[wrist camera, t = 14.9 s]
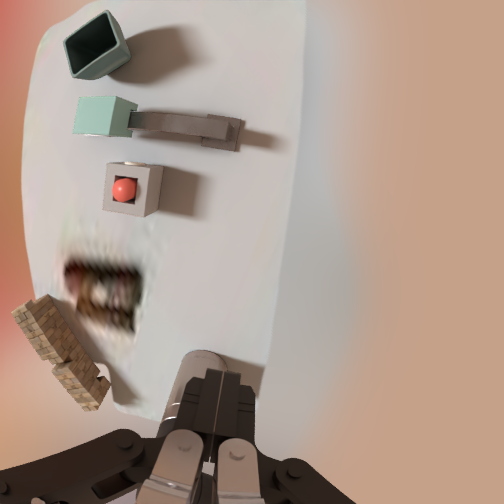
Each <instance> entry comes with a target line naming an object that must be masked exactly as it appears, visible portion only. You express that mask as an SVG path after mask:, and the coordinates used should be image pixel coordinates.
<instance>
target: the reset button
mask: <svg viewBox="0 0 504 504" xmlns="http://www.w3.org/2000/svg"><path fill="white" fill-rule="evenodd" d="M137 183H138V178H133V177H130V178H125V179H120V180H117V181H116V182H115V183H114V185H113V188H112V193H113V196H114V198H115V199H116V200H117V201H119V202H125V201H127V200H130V199H133V198H136V191H137Z"/></svg>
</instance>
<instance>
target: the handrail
mask: <svg viewBox="0 0 504 504" xmlns="http://www.w3.org/2000/svg"><path fill="white" fill-rule="evenodd" d="M240 123H241V119H237V118H230V117H224V116H217V115H210V114H208V116H207V118H201V117H192V116H183V115H173V114H162V113H148V112H130V117H129V122H128V127H127V129H138V130H150V131H160V132H170V133H179V134H187V135H195V136H202V137H203V140H202V145H201V146H204V147H210V148H217V149H223V150H229V151H234V152H235V147H236V142H237V137H238V132H239V128H240ZM86 135H87V134H86ZM89 136H100V135H89ZM109 137H111V136H109Z"/></svg>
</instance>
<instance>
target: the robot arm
mask: <svg viewBox="0 0 504 504" xmlns="http://www.w3.org/2000/svg"><path fill="white" fill-rule="evenodd" d="M240 377H241V373H235V372H229V371H227V367H226V364H225V362H224V361H223V360H222V359H221V358H220V357H219V356H218V355H216V354H214V353H212V352H208V351H203V350H197V351H192V352H190V353H188V354H187V355H185V357H184V358H183V360H182V363H181V365H180V368H179V371H178V374H177V376H176V379H175V382H174V385H173V388H172V391H171V394H170V397H169V400H168V402H167V405H166V408H165V412H164V415H163V418H162V421H161V424H160V427H159V430H158V433H157V436H156V438H141V437H140V436H139V435H138V434H137V433H136V432H134V431H132V430H129V429H118V430H115V431H113V432H110V433H108V434H106V435H103V436H101V437H98V438H96V439H94V440H91V441H89V442H87V443H84V444H81V445H79V446H76V447H73V448H71V449H68V450H66V451H63V452H60V453H57V454H54V455H51V456H48V457H45V458H43V459H39V460H36V461H33V462H30V463H26V464H23V465H20V466H16V467H12V468H9V469H5V470H1V471H0V504H106V503H108V502H110V501H112V500H114V499H116V498H119V497H121V496H123V495H125V494H126V493H129V492H131V491H133V490H135V489H137V493H136V503H135V504H356V503H355V502H353V501H352V500H351V499H349V498H348V497H347V496H346V495H344V494H343V493H342V492H340V491H339V490H338V489H337V488H336V487H335V486H333V485H332V484H331V483H330V482H328V481H327V480H326V479H325V478H324V477H323V476H322V475H320V474H319V473H318V472H317V471H316V470H315V469H313V468H312V467H311V466H310V465H309V464H308V463H307V462H305V461H303V460H301V459H297V458H288V459H285V460H283V461H279V460H275V459H273V458H270V457H267V456H265V455H263V454H262V453H261V452H260V451H259V450H258V449H257V447H256V445H255V441H254V435H255V434H254V433H255V393H254V392H253V390H252V388H251V386H245V385H240ZM210 456H211V459H210V462H211V463H215V467H214V474H213V476H211V475H209V474H205V473H203V472H202V468H203V462H204V461H205V462H208V461H209V457H210Z"/></svg>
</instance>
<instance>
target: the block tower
mask: <svg viewBox="0 0 504 504" xmlns="http://www.w3.org/2000/svg"><path fill="white" fill-rule="evenodd" d="M11 314H12V315H13V317H14V319H15V321H16V322H17V324H18V325H19V326H20V328H21V329H22V330H23V332H24V333H25V335H26V337H27V338H28V339H29V342H30V343H31V344H32V346H33V348H34V349H35V350H36V352H37V353H38V354H39V355H40V357H41V359H42V360H47V359H49V361H50V362H51V363H52V364H56V366H55V367H54V368H53V370H52V373H53V374H54V375H55V377H56V378H57V379H58V380H59V381H60V383H61V384H62V385H63V387H64V388H65V389H67V392H68V393H69V394H70V395H71V396H72V397H73V398H74V399H75V401H76V402H77V403H78V404H79V405H80V406H81V407H82V409H83V410H84V411H91V410H93V411H95V410H98V408H99V406H100V405H101V403H102V401H103V399H104V397H105V395H106V393H107V390H109V388H110V386H111V383H110V382H109V381H108V380H107V379H106V377H105V376H101V377H97V376H98V374H99V372H100V370H99V369H98V367H97V366H96V365H95V363H93V361H92V360H91V359H90V358H89V356H88V354H87V353H86V352H85V350H84V349H83V348H82V346H81V344H80V343H79V342H78V340H77V339H76V338H75V336H74V335H73V333H72V332H71V330H70V329H69V327H68V326H67V324H66V322H64V319H63V318H62V316H61V315H60V313H59V312H58V310H57V308H56V307H55V305H54V304H53V302H52V300H51V299H50V297H49V295H48V294H47V295H45V296H43V297H41V298H39V299H38V300H35V301H34V302H33V301H32V300H29V301H27V302H26V303H24V304H22V305H20V306H19V307H17V308H16V309H15V310H13V311H12V312H11Z"/></svg>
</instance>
